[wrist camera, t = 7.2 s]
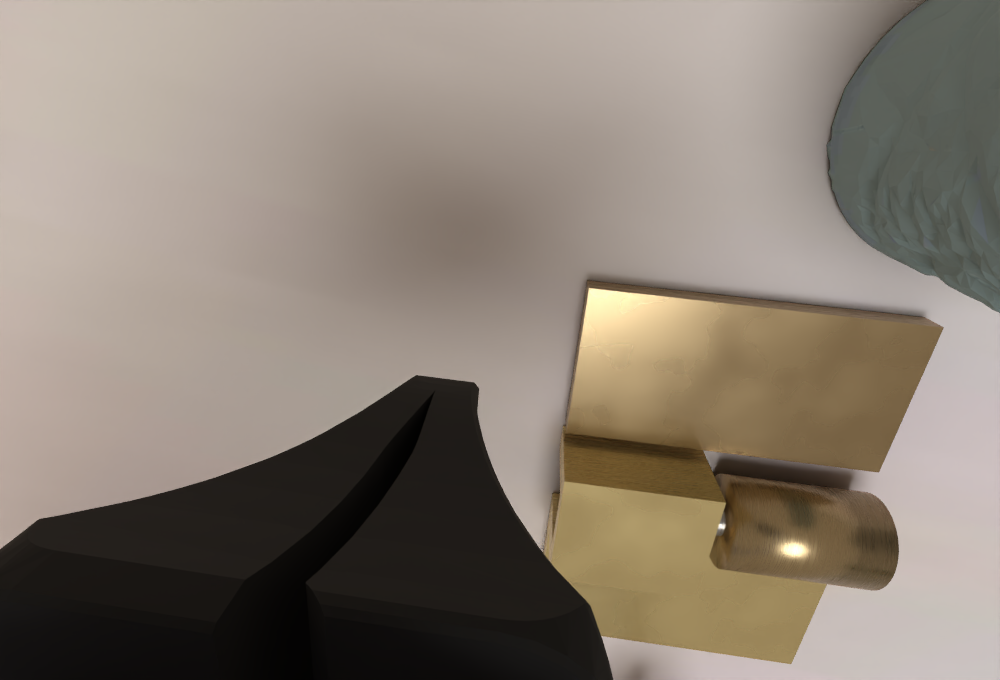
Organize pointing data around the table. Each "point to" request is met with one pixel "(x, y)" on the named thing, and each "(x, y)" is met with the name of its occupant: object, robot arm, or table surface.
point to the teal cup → (927, 145)
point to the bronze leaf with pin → (759, 413)
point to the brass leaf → (664, 553)
